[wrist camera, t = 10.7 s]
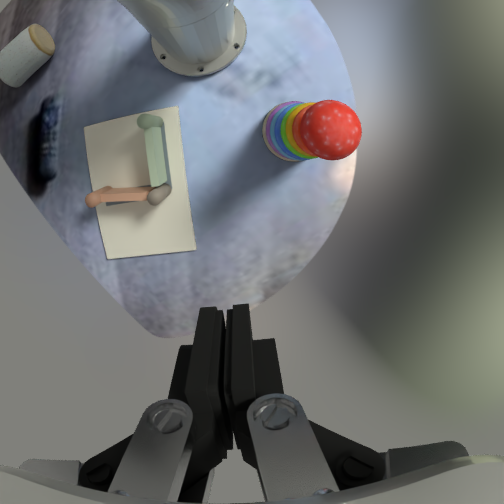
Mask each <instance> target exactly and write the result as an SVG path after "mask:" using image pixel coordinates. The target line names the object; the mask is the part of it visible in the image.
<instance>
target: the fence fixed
mask: <svg viewBox="0 0 504 504" xmlns="http://www.w3.org/2000/svg"><path fill="white" fill-rule="evenodd" d="M137 125H138V127H140V128H142V129H144V135H145V144H146V152H147V160H148V167H149V174H150V181H151V187H156V186H160V185H161V184H163V183H165V182H166V181H167V175H166V167H165V159H164V151H163V143H162V134H161V127H162V125H163V120H162V118H161V117H159V116H155V115H150V114H146V113H144V114H141V115H140V116H139V117H138V118H137Z"/></svg>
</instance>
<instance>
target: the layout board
mask: <svg viewBox="0 0 504 504" xmlns="http://www.w3.org/2000/svg"><path fill="white" fill-rule="evenodd" d="M144 113H146V114H150V115H155V116H159V117H161V118H162V120H163V125H162V127H161V134H162V143H163V151H164V159H165V167H166V175H167V181H166V182H165V183H166V184H169V185H170V186H171V193H170V195H169V196H167V197H166V198H165V199H164V200H163V201H162V202H161V203H160V204H158V205H156V206H153V205H150V204H149V203H148V201H115V202H102V203H100V204H98V205H97V206H96V211H97V216H98V220H99V225H100V230H101V234H102V238H103V243H104V247H105V251H106V255H107V259H114V258H124V257H133V256H143V255H153V254H162V253H172V252H182V251H192V250H196V249H197V248H196V241H195V235H194V228H193V222H192V215H191V208H190V201H189V194H188V186H187V179H186V171H185V163H184V154H183V146H182V137H181V127H180V118H179V108H178V106H174V107H169V108H163V109H158V110H153V111H148V112H143V113H138V114H133V115H129V116H125V117H120V118H116V119H112V120H108V121H105V122H101V123H97V124H93V125H90V126H86V127H84V134H85V143H86V151H87V158H88V165H89V172H90V178H91V184H92V190H93V192H94V191H96V190H99V189H101V188H103V187H105V186H111V187H112V188H129V187H151V181H150V174H149V167H148V160H147V152H146V144H145V135H144V129H142V128H140V127H138V125H137V118H138V117H139V116H140V115H141V114H144ZM163 184H164V183H163ZM157 187H158V186H156V188H157Z"/></svg>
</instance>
